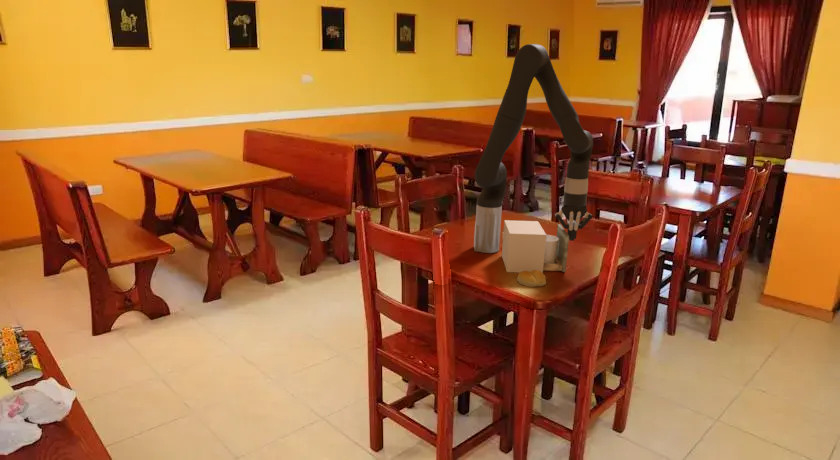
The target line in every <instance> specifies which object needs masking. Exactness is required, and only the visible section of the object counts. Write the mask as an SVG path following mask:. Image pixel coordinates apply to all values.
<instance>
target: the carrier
mask: <svg viewBox="0 0 840 460" xmlns="http://www.w3.org/2000/svg"><path fill="white" fill-rule="evenodd" d="M556 237H558V238H559V242H558V249H557V255H556V259H555V264H551V263H544V266H543V271H554V272H555V271H557V272H563V273H566V268H567V260H568V259H567V258H568V252H569V242H570V240H569V235H568V234H567V231H566V229H565V228H564V227H563V226H562V224H561V223H559V224H558V223H557V230H556Z"/></svg>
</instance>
